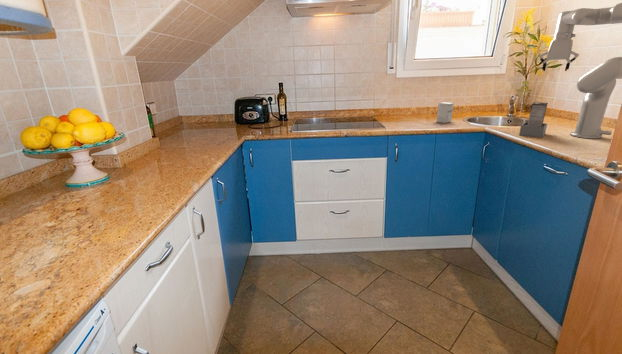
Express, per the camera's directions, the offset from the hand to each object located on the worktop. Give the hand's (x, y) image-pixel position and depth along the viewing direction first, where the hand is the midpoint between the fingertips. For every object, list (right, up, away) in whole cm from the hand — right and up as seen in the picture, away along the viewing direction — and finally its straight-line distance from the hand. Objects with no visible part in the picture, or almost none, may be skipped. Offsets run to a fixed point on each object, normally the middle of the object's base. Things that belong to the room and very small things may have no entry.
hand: (554, 70), depth 171 cm
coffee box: (-14, -35, -3) cm, 38 cm away
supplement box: (-44, -21, +40) cm, 63 cm away
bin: (-15, -36, -3) cm, 39 cm away
